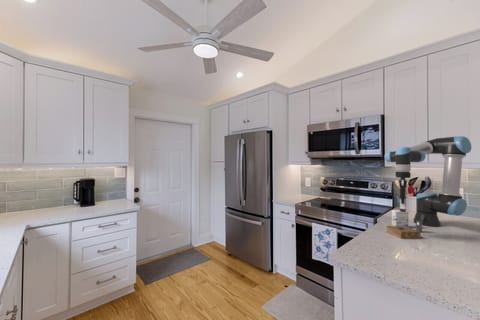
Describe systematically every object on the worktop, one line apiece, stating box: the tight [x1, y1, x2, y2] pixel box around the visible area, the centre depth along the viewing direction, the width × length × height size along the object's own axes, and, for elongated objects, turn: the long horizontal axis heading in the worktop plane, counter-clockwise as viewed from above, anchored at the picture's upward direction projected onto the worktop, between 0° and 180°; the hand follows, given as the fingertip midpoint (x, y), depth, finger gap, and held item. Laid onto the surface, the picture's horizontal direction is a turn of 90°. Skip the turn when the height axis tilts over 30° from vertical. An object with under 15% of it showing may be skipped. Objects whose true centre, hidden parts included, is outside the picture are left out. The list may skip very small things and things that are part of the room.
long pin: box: [399, 189, 407, 212], centre depth 132 cm, size 3×3×14 cm
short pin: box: [415, 221, 423, 234], centre depth 139 cm, size 3×3×7 cm
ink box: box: [391, 209, 409, 227], centre depth 149 cm, size 9×5×12 cm, turn 84°
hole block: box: [386, 225, 421, 240], centre depth 132 cm, size 12×12×4 cm
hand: (402, 208), depth 132 cm, fingers closed on long pin, 3 cm apart
